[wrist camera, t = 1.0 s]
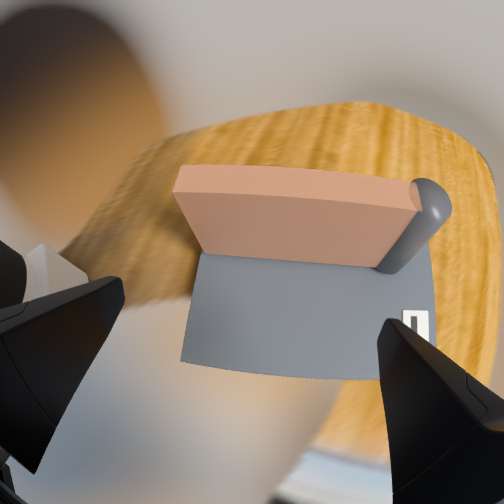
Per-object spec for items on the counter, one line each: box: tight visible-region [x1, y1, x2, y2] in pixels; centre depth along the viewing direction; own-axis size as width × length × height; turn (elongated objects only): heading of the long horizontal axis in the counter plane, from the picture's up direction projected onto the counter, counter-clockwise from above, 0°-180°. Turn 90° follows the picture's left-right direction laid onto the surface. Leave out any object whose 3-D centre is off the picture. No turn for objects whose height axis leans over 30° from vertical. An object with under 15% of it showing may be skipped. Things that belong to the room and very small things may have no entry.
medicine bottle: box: [0, 241, 89, 309], centre depth 16 cm, size 7×7×12 cm
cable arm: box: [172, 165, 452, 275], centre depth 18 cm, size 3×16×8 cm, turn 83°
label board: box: [181, 242, 436, 380], centre depth 21 cm, size 15×20×1 cm
